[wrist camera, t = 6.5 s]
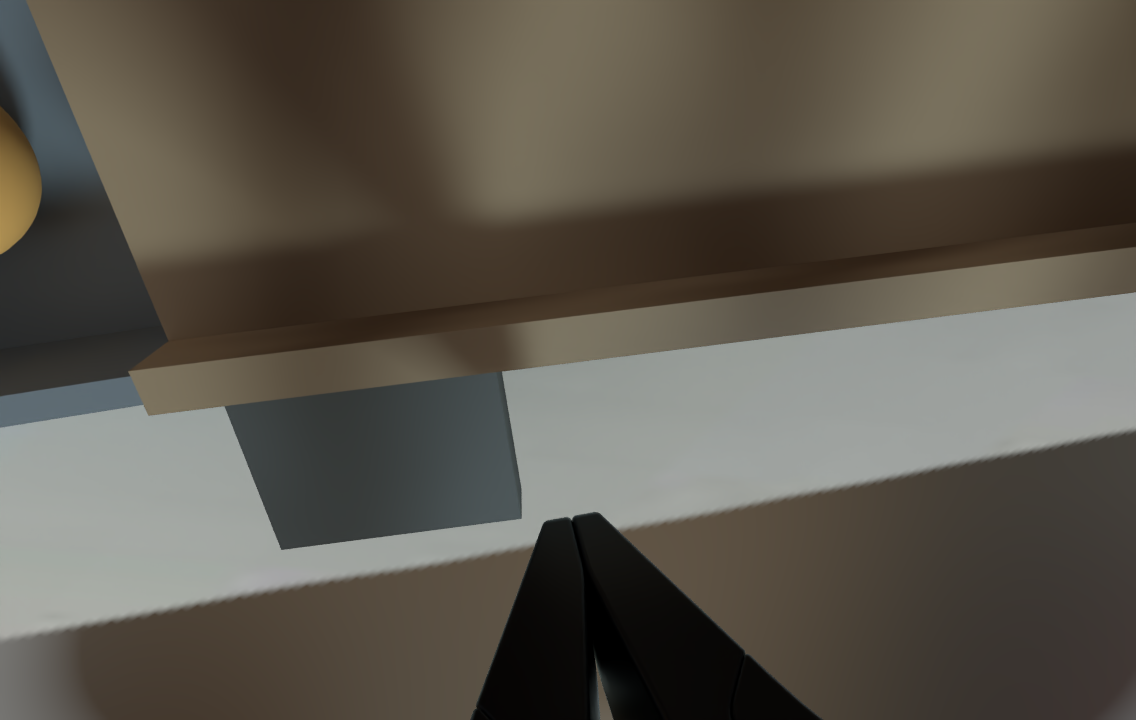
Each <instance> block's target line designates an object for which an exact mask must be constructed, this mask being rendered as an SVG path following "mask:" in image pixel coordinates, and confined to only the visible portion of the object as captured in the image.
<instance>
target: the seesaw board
mask: <svg viewBox="0 0 1136 720" xmlns="http://www.w3.org/2000/svg"><path fill="white" fill-rule="evenodd" d="M26 2H27V4H28V7H29V9H30V11H31V14H32V16H33V18H34V21H35V23H36V26H37V28H38V30H39V33H40V35H41V38H42V40H43V42H44V45H45V47H46V50H47V52H48V54H49V57H50V59H51V61H52V64H53V66H54V69H55V71H56V73H57V76H58V78H59V81H60V83H61V85H62V88H63V90H64V93H65V95H66V97H67V100H68V102H69V104H70V107H71V109H72V112H73V114H74V116H75V119H76V121H77V124H78V126H79V128H80V131H81V133H82V136H83V138H84V140H85V143H86V145H87V148H88V150H89V152H90V155H91V157H92V159H93V162H94V164H95V167H96V169H97V171H98V174H99V176H100V179H101V181H102V183H103V186H104V188H105V191H106V193H107V195H108V198H109V200H110V202H111V205H112V207H113V210H114V212H115V214H116V217H117V219H118V222H119V224H120V226H121V229H122V231H123V234H124V236H125V238H126V241H127V243H128V245H129V248H130V250H131V253H132V255H133V257H134V260H135V262H136V265H137V267H138V269H139V272H140V274H141V277H142V279H143V281H144V284H145V286H146V288H147V291H148V293H149V296H150V298H151V300H152V303H153V305H154V308H155V310H156V312H157V315H158V317H159V320H160V322H161V324H162V327H163V329H164V332H165V334H166V336H167V339H168V342H167V343H165V344H164V345H163V346H161V347H160V348H159V349H157V350H156V351H155V352H153V353H152V354H151V355H149V356H148V357H147V358H145V359H144V360H143V361H141V362H140V363H139V364H137V365H136V366H135V367H133V368H132V369H131V370H129V371H128V372H129V374H130V376H131V378H132V381H133V383H134V385H135V387H136V389H137V392H138V394H139V396H140V398H141V400H142V402H143V405H144V407H145V409H146V411H147V413H148V415H157V414H165V413H173V412H181V411H189V410H197V409H205V408H213V407H221V406H225V408H226V411H227V413H228V416H229V418H230V421H231V424H232V426H233V429H234V431H235V434H236V436H237V439H238V441H239V444H240V446H241V449H242V451H243V454H244V456H245V459H246V461H247V464H248V467H249V469H250V472H251V474H252V477H253V479H254V482H255V484H256V487H257V489H258V492H259V494H260V497H261V499H262V502H263V505H264V507H265V510H266V512H267V515H268V517H269V520H270V522H271V525H272V527H273V530H274V532H275V535H276V537H277V540H278V542H279V545H280V548H281V550H284V549H292V548H299V547H307V546H315V545H322V544H330V543H338V542H345V541H353V540H361V539H369V538H376V537H384V536H392V535H399V534H407V533H415V532H422V531H430V530H438V529H445V528H453V527H461V526H469V525H476V524H484V523H492V522H499V521H507V520H515V519H522V504H521V484H520V478H519V472H518V466H517V460H516V454H515V448H514V442H513V436H512V430H511V424H510V418H509V412H508V406H507V400H506V394H505V388H504V382H503V376H502V371H509V370H517V369H525V368H533V367H541V366H549V365H557V364H565V363H573V362H581V361H589V360H597V359H605V358H613V357H621V356H629V355H637V354H645V353H653V352H661V351H669V350H677V349H685V348H693V347H701V346H709V345H717V344H725V343H733V342H741V341H749V340H758V339H766V338H774V337H782V336H790V335H798V334H806V333H814V332H822V331H830V330H838V329H846V328H854V327H862V326H870V325H878V324H886V323H894V322H902V321H910V320H918V319H926V318H934V317H942V316H950V315H958V314H966V313H974V312H982V311H990V310H998V309H1006V308H1014V307H1022V306H1030V305H1038V304H1046V303H1054V302H1062V301H1070V300H1078V299H1086V298H1094V297H1102V296H1110V295H1118V294H1126V293H1134V292H1136V0H26Z"/></svg>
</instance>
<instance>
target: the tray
mask: <svg viewBox="0 0 1136 720" xmlns="http://www.w3.org/2000/svg"><path fill="white" fill-rule="evenodd" d="M0 106H1V107H2V108H3V109H4V110H5V111H6V112H7V113H8V114H9V115H10V116H11V118H12V119H13V120H14V121H15V122H16V123H17V125H18V126H19V128H20V129H21V130H22V132H23V133H24V135H25V136H26V138H27V139H28V141H29V143H30V145H31V147H32V149H33V151H34V153H35V156H36V158H37V161H38V165H39V169H40V174H41V181H42V195H41V201H40V205H39V208H38V211H37V214H36V217H35V219H34V221H33V223H32V224H31V226H30V227H29V229H28V230H27V232H26V233H25V234H24V235H23V237H22V238H21V239H20V240H19V241H17V242H16V243H15V244H14V245H13V246H12V247H11V248H9V249H8V250H7V251H5V252H4V253H2V254H0V427H6V426H13V425H19V424H25V423H32V422H38V421H44V420H50V419H57V418H63V417H69V416H76V415H82V414H88V413H94V412H101V411H107V410H113V409H120V408H126V407H132V406H138V405H143V402H142V400H141V398H140V396H139V394H138V392H137V389H136V387H135V385H134V383H133V381H132V378H131V376H130V374H129V372H128V371H129V370H131V369H132V368H133V367H135V366H136V365H137V364H139V363H140V362H141V361H143V360H144V359H145V358H147V357H148V356H149V355H151V354H152V353H153V352H155V351H156V350H157V349H159V348H160V347H161V346H163V345H164V344H165V343H167V342H168V339H167V336H166V334H165V332H164V329H163V327H162V324H161V322H160V320H159V317H158V315H157V312H156V310H155V308H154V305H153V303H152V300H151V298H150V296H149V293H148V291H147V288H146V286H145V284H144V281H143V279H142V277H141V274H140V272H139V269H138V267H137V265H136V262H135V260H134V257H133V255H132V253H131V250H130V248H129V245H128V243H127V241H126V238H125V236H124V234H123V231H122V229H121V226H120V224H119V222H118V219H117V217H116V214H115V212H114V210H113V207H112V205H111V202H110V200H109V198H108V195H107V193H106V191H105V188H104V186H103V183H102V181H101V179H100V176H99V174H98V171H97V169H96V167H95V164H94V162H93V159H92V157H91V155H90V152H89V150H88V148H87V145H86V143H85V140H84V138H83V136H82V133H81V131H80V128H79V126H78V124H77V121H76V119H75V116H74V114H73V112H72V109H71V107H70V104H69V102H68V100H67V97H66V95H65V93H64V90H63V88H62V85H61V83H60V81H59V78H58V76H57V73H56V71H55V69H54V66H53V64H52V61H51V59H50V57H49V54H48V52H47V50H46V47H45V45H44V42H43V40H42V38H41V35H40V33H39V30H38V28H37V26H36V23H35V21H34V18H33V16H32V14H31V11H30V9H29V7H28V4H27V2H26V0H0Z"/></svg>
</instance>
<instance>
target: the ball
mask: <svg viewBox="0 0 1136 720" xmlns="http://www.w3.org/2000/svg"><path fill="white" fill-rule="evenodd" d="M41 195H42V181H41V174H40V169H39V165H38V161H37V158H36V156H35V153H34V151H33V149H32V147H31V145H30V143H29V141H28V139H27V138H26V136H25V135H24V133H23V132H22V130H21V129H20V128H19V126H18V125H17V123H16V122H15V121H14V120H13V119H12V118H11V116H10V115H9V114H8V113H7V112H6V111H5V110H4V109H3V108H2V107H1V106H0V254H2V253H4V252H5V251H7V250H8V249H9V248H11V247H12V246H13V245H14V244H15V243H16V242H17V241H19V240H20V239H21V238H22V237H23V235H24V234H25V233H26V232H27V230H28V229H29V227H30V226H31V224H32V223H33V221H34V219H35V217H36V214H37V211H38V208H39V205H40V201H41Z"/></svg>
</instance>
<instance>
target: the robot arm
mask: <svg viewBox="0 0 1136 720" xmlns="http://www.w3.org/2000/svg"><path fill="white" fill-rule="evenodd" d="M595 659H596V663H597V668H598V671H599V675H600V678H601V682H602V685H603V688H604V691H605V694H606V697H607V700H608V704H609V707H610V710H611V713H612V716H613V719H614V720H823V719H822V718H820V717H819V716H818V715H817V714H815V713H814V712H813V711H812V710H811V709H809V708H808V707H807V706H806V705H804V704H803V703H802V702H801V701H800V700H798V699H797V698H796V697H795V696H794V695H793V694H792V693H791V692H790V691H788V690H787V689H786V688H785V687H784V686H783V685H782V684H781V683H779V682H778V681H777V680H776V679H775V678H774V677H773V676H772V675H771V674H769V673H768V672H767V671H766V670H765V669H764V668H763V667H762V666H761V665H760V664H759V663H758V662H757V661H756V660H755V659H754V658H753V657H752V656H751V655H749V654H746V655H745V650H744V649H743V648H742V647H740V645H738V643H736V642H735V641H734V640H733V639H732V638H731V637H730V636H729V635H728V634H727V633H726V632H725V631H724V630H723V629H722V628H721V627H720V626H718V625H717V624H716V623H715V622H714V621H713V620H712V619H711V618H710V617H709V616H708V615H707V614H706V613H704V611H703V610H702V609H700V608H699V607H698V606H697V605H696V604H695V603H694V602H693V601H692V600H691V599H690V598H689V597H688V596H687V595H686V594H685V593H684V592H682V591H681V590H680V589H679V588H678V587H677V586H676V585H675V584H674V583H673V582H672V581H671V580H670V579H669V578H668V577H666V576H665V575H664V574H663V573H662V572H661V571H660V570H659V569H658V568H657V567H656V566H655V565H654V564H653V563H652V562H651V561H650V560H649V559H648V558H646V557H645V556H644V555H643V554H642V553H641V552H640V551H639V550H638V549H637V548H636V547H635V546H634V545H632V543H631V542H630V541H628V540H627V539H626V538H625V537H624V536H623V535H622V534H621V533H620V532H619V531H618V530H617V529H616V528H615V527H614V526H613V525H612V524H610V523H609V522H608V521H607V520H606V519H605V518H604V517H603V516H602V515H601V514H600V513H597V512H593V513H587V514H581V515H576V516H574V517H573V519H572V520H571V519H570V518H568V517H564V518H559V519H553V520H548V521H545V522H544V524H543V526H542V528H541V531H540V533H539V536H538V539H537V542H536V544H535V547H534V550H533V553H532V555H531V558H530V560H529V563H528V566H527V569H526V571H525V574H524V577H523V579H522V582H521V585H520V588H519V591H518V593H517V596H516V599H515V601H514V604H513V606H512V609H511V612H510V615H509V617H508V620H507V623H506V625H505V628H504V631H503V634H502V637H501V639H500V642H499V644H498V647H497V650H496V652H495V655H494V658H493V660H492V663H491V666H490V669H489V671H488V674H487V677H486V679H485V683H484V685H483V688H482V690H481V693H480V696H479V698H478V701H477V704H476V707H477V709H475V710H474V711H473V714H472V717H471V719H470V720H600V710H599V696H598V682H597V672H596V663H595Z"/></svg>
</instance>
